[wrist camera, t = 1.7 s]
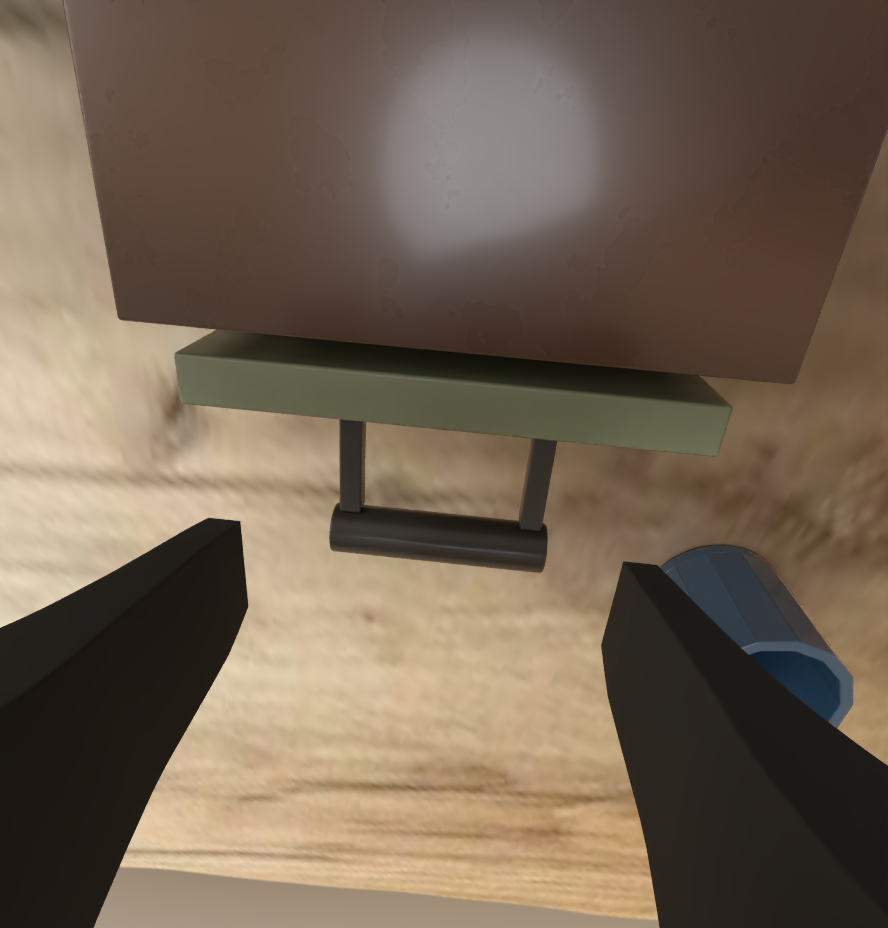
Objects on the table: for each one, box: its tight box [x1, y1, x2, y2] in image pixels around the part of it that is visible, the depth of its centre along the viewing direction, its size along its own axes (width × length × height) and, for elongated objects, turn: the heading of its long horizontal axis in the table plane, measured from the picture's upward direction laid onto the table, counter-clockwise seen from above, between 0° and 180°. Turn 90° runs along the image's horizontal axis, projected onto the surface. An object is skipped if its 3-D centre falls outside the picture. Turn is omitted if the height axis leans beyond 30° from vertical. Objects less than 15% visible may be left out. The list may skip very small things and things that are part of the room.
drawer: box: [174, 329, 732, 573], centre depth 14 cm, size 17×12×7 cm
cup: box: [661, 545, 853, 728], centre depth 21 cm, size 5×5×5 cm
